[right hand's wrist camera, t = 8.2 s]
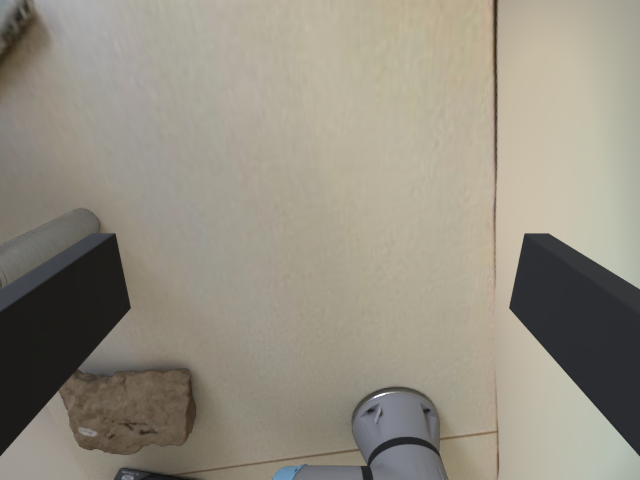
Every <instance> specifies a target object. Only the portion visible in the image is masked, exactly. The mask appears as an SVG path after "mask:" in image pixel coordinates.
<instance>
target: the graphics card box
mask: <svg viewBox="0 0 640 480" xmlns="http://www.w3.org/2000/svg"><path fill="white" fill-rule="evenodd" d="M114 480H186V479H180V478H174V477H169V476H163V475H158V474H152V473H147V472H141V471H136V470H129V469H124V468H122V469H120V470H119V471H118V473H117V475H116V477H115V478H114Z"/></svg>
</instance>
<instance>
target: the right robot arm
mask: <svg viewBox="0 0 640 480" xmlns="http://www.w3.org/2000/svg"><path fill="white" fill-rule="evenodd" d="M509 308H510V310H511V311H512V312H513V313H514V314H515V315H516V316H517V318H518V319H519V320H520V321H521V322H522V323H523V324H524V326H525V327H526V328H527V329H528V330H529V331H530V332H531V333H532V335H533V336H534V337H535V338H536V339H537V340H538V341H539V343H540V344H541V345H542V346H543V347H544V348H545V349H546V350H547V352H548V353H549V354H550V355H551V356H552V357H553V358H554V359H555V361H556V362H557V363H558V364H559V365H560V366H561V367H562V369H563V370H564V371H565V372H566V373H567V374H568V375H569V377H570V378H571V379H572V380H573V381H574V382H575V383H576V384H577V386H578V387H579V388H580V389H581V390H582V391H583V392H584V394H585V395H586V396H587V397H588V398H589V399H590V400H591V402H592V403H593V404H594V405H595V406H596V407H597V408H598V409H599V411H600V412H601V413H602V414H603V415H604V416H605V417H606V419H607V420H608V421H609V422H610V423H611V424H612V425H613V426H614V428H615V429H616V430H617V431H618V432H619V433H620V434H621V435H622V437H623V438H624V439H625V440H626V441H627V442H628V443H629V445H630V446H631V447H632V448H633V449H634V450H635V451H636V453H637V454H638V455H639V456H640V289H638V288H637V287H635V286H633V285H632V284H630V283H628V282H627V281H625V280H624V279H622V278H620V277H619V276H617V275H615V274H614V273H612V272H610V271H609V270H607V269H606V268H604V267H602V266H601V265H599V264H597V263H596V262H594V261H593V260H591V259H589V258H588V257H586V256H584V255H583V254H581V253H579V252H578V251H576V250H575V249H573V248H571V247H570V246H568V245H566V244H565V243H563V242H562V241H560V240H558V239H557V238H555V237H553V236H552V235H550V234H524V239H523V244H522V249H521V253H520V258H519V263H518V268H517V273H516V278H515V282H514V287H513V292H512V297H511V302H510V307H509ZM130 309H131V307H130V302H129V297H128V292H127V287H126V282H125V278H124V273H123V268H122V263H121V258H120V253H119V249H118V244H117V239H116V234H90V235H88V236H87V237H85V238H83V239H82V240H80V241H78V242H77V243H75V244H74V245H72V246H70V247H69V248H67V249H65V250H64V251H62V252H61V253H59V254H57V255H56V256H54V257H52V258H51V259H49V260H47V261H46V262H44V263H43V264H41V265H39V266H38V267H36V268H34V269H33V270H31V271H29V272H28V273H26V274H25V275H23V276H21V277H20V278H18V279H16V280H15V281H13V282H12V283H10V284H8V285H7V286H5V287H3V288H2V289H0V456H1V455H2V454H3V453H4V451H5V450H6V449H7V448H8V447H9V446H10V445H11V443H12V442H13V441H14V440H15V439H16V438H17V437H18V436H19V434H20V433H21V432H22V431H23V430H24V429H25V428H26V426H27V425H28V424H29V423H30V422H31V421H32V420H33V419H34V417H35V416H36V415H37V414H38V413H39V412H40V411H41V409H42V408H43V407H44V406H45V405H46V404H47V403H48V402H49V400H50V399H51V398H52V397H53V396H54V395H55V394H56V392H57V391H58V390H59V389H60V388H61V387H62V386H63V384H64V383H65V382H66V381H67V380H68V379H69V378H70V377H71V375H72V374H73V373H74V372H75V371H76V370H77V369H78V367H79V366H80V365H81V364H82V363H83V362H84V361H85V360H86V358H87V357H88V356H89V355H90V354H91V353H92V352H93V350H94V349H95V348H96V347H97V346H98V345H99V344H100V343H101V341H102V340H103V339H104V338H105V337H106V336H107V335H108V333H109V332H110V331H111V330H112V329H113V328H114V327H115V326H116V324H117V323H118V322H119V321H120V320H121V319H122V318H123V316H124V315H125V314H126V313H127V312H128V311H129V310H130ZM352 431H353V436H354V439H355V442H356V444H357V446H358V448H359V450H360V452H361V454H362V456H363V458H364V460H365V462H366V464H367V466H317V465H307V464H304V465H300V466H292V467H284V468H281V469H280V470H278V471H277V472H276V474H275V475H274V477H273V479H272V480H448V477H447V474H446V471H445V468H444V465H443V462H442V460H441V457H440V454H439V445H440V422H439V417H438V414H437V411H436V408H435V406H434V405H433V403H432V402H431V400H430V399H429V398H428V397H426V396H425V395H424V394H422V393H420V392H418V391H416V390H413V389H409V388H403V387H392V388H386V389H382V390H379V391H376V392H374V393H372V394H370V395H368V396H367V397H365V398H364V399H363V400H362V401H361V402H360V403H359V404H358V405H357V407H356V408H355V410H354V413H353V416H352Z"/></svg>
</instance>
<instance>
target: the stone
mask: <svg viewBox="0 0 640 480" xmlns="http://www.w3.org/2000/svg"><path fill="white" fill-rule="evenodd" d="M190 377H191V374H190V372H189V370H188V369H181V370H180V369H175V370H168V371H157V370H155V369H152V370H146V371H144V372H136V371H131V372H125V371H120V372H115V374H114V375H113V376H112V377H109V376H106V375H102V374H98V375H93V374H88V373H82V372H81V371H79V370H78V369H77V370H76V371H75V372H74V373H73V374H72V375H71V377H70V378H69V379H68V380H67V381H66V382H65V383H64V384H63V386H62V387H61V388H60V389H59V393H60V395H61V398H62V399H63V402H64V405H65V408H66V409H67V410H68V416H69V420H70V428H71V430H72V431H73V433H74V437H75V439H76V441H77V443H78V445H79V446H80V447H82V448H84V449H87V450H93V449H99V450H102V451H104V452H108V453H112V454H122V455H129V454H133V453H136V452H138V451H139V450H140V449H141V448H142V447H144V446H147V445H150V444H153V443H155V444H158V445H160V446H162V447H163V446H166V445H178V446H181V445H183V444H184V443H185V442H186V440H187V438H188V436H189V433H191V432H192V428H193V423H194V419H195V416H196V409H195V403H194V401H193V399H192V391H191V382H190Z"/></svg>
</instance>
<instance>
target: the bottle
mask: <svg viewBox="0 0 640 480" xmlns="http://www.w3.org/2000/svg"><path fill="white" fill-rule="evenodd" d="M99 229H100V223H99V220H98V218H97V217H96V216H95V215H94V214H93V213H92V212H91V211H89V210H86V209H75V210H73V211H71V212H69V213H67V214H65V215H63V216H61V217H58V218H56V219H54V220H52V221H50V222H48V223H46V224H44V225H42V226H39V227H37V228H35V229H33V230H31V231H29V232H27V233H25V234H23V235H20V236H18V237H16V238H14V239H12V240H10V241H8V242H6V243H4V244H1V245H0V289H2V288H3V287H5V286H7V285H8V284H10V283H12V282H13V281H15V280H16V279H18V278H20V277H21V276H23V275H25V274H26V273H28V272H29V271H31V270H33V269H34V268H36V267H38V266H39V265H41V264H43V263H44V262H46V261H47V260H49V259H51V258H52V257H54V256H56V255H57V254H59V253H61V252H62V251H64V250H65V249H67V248H69V247H70V246H72V245H74V244H75V243H77V242H78V241H80V240H82V239H83V238H85V237H87V236H88V235H90V234H97V233H98V232H99Z"/></svg>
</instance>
